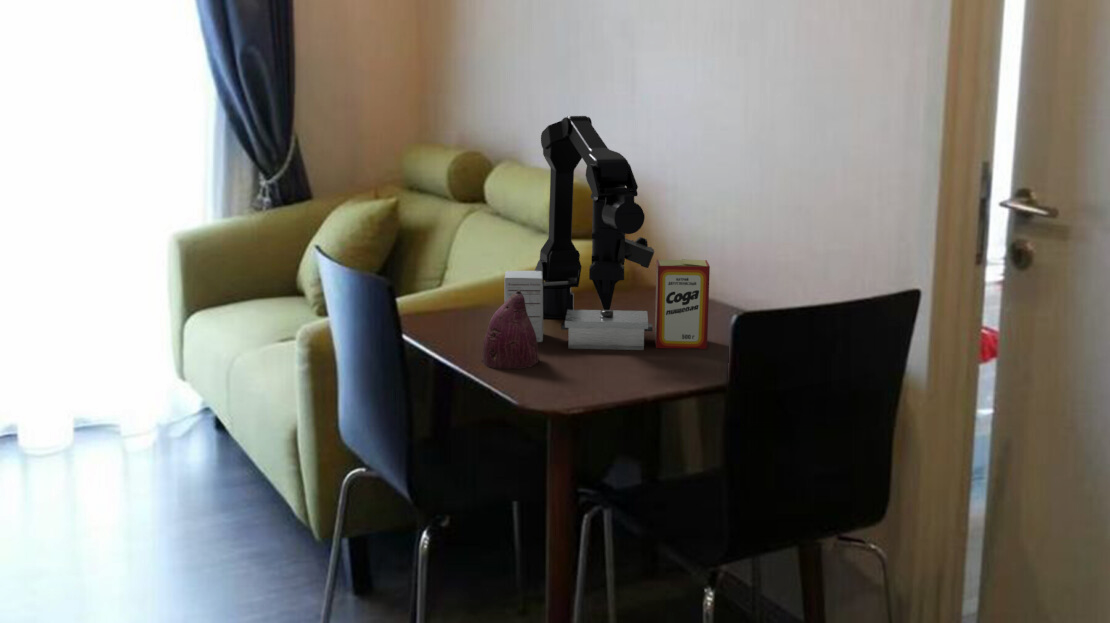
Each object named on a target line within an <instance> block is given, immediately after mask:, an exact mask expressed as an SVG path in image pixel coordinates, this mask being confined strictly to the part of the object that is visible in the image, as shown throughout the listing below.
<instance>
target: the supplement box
mask: <svg viewBox="0 0 1110 623" xmlns="http://www.w3.org/2000/svg"><path fill="white" fill-rule="evenodd" d="M518 290H520V291H521V293H522V295H523V296H524V299H525V306H526V311H527V314H528V317H529V319H530V321H531V324H532V326H533V328H534V331H535V334H536V339H537V343H543V341H544V318H543V278H542V271H535V270H506V271H505V272H504V303H505V302H506V301H507V300H508V299H509V298H510V297H511V296H512V295H513V294H514V293H516V292H517V291H518Z"/></svg>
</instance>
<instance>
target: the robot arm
mask: <svg viewBox="0 0 1110 623" xmlns="http://www.w3.org/2000/svg"><path fill="white" fill-rule="evenodd" d="M540 144H541V148H542V156H544V157H543V158H544V159H545V161H546V162H547V164H548V166H549V167H550V176H549V177H550V181H549V182H550V183H549V184H550V185H549V210H548V211H549V212H548V213H549V216H548V217H549V218H548V238H547V240H546V241H545V243H544V245H542V247H541V248H540V251H539V252H540V253H539V259H538V261H537V263H536V265H535V269H534V271H542V278H543V319H565V318H566V314H567V310H575V309H574V308H575V306H574V304H575V303H574V302H575V294H574V292H573V291H572V288H579V285H580V279H581V273H582V267H583V266H582V263H581V261H580V257H581V254H580V252H579V250H577V247H576V246H575V245H574V243H573V241H572V239H573V238H572V236H573V232H572V230H573V204H574V181H575V180H574V176H575V175H574V174H575V170H576V168H577V167H578V165H579V163H580V162H581V161H582V160H583V162H584V163H585V165H586V170H585V178H586V182H587V184H588V186H589V188H590V192H591V194H590V199H591V200H592V221H591V222H592V232H591V241H592V242H591V249H592V250H591V264H590V265H589V269H588V270H589V274H588V275H589V276H588V277H589V278H588V279H589V280H590V281H592V283H593V285H594V288H595V291H596V292H597V295H598V296H597V297H598V298H599V301H600V303H601V306H602V310H611V306H612V301H613V298H614V291H615V286H616V284H617V283H618V282H620V281H624V280H625V263H626V262H625V260H627V261H630V262H632V263H636V264H638V265H640V266H641V267H642V268H646V269H648V268H649V266H650V265H651V262H652V260H653V257H654V254H655V249H654V248H653V247H651V246H648V245H649V244H648V239H647V238H645V237H642V236H639V237H638V238H637V239H636V240H633V239H629V238H626V235H632V234H635V233H637V232H639V230H641V228H642V227H643V225H644V223H645V217H646V216H645V212H644V210H643V208H642V206H640V204H638V203H637V202H635V197H638V195H639V194H638V188H639V186H638V183H637V180H636V178H635V174H634V172H633V170H632V167H631V164H630V163H629V161H628V160H627V159H626V157H624V155H622V154H621V152H617V151H614V150H612V149H610V148H609V147H608V146H607V144H606V143H605V142H604V141H603V139H602V138H601V136H600V134H599V133H598V132H597V130H596V129H595V128H594V126H593V123H592V119H591V117H590V116H587V115H568V116H567V117H563V118H562V119H561V120H559V121H557V122H554V123H552V124H549V125H547V126H546V127H545V129H543V131H542V132H541V135H540Z"/></svg>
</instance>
